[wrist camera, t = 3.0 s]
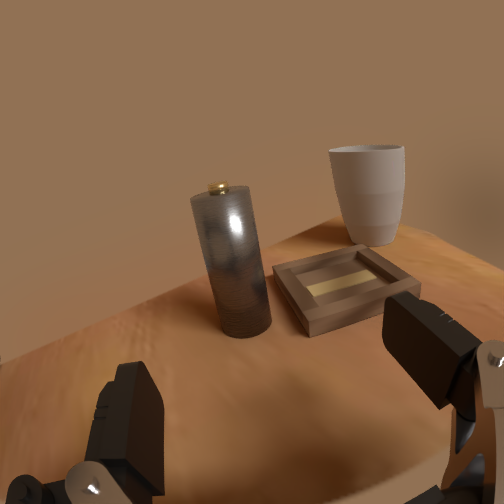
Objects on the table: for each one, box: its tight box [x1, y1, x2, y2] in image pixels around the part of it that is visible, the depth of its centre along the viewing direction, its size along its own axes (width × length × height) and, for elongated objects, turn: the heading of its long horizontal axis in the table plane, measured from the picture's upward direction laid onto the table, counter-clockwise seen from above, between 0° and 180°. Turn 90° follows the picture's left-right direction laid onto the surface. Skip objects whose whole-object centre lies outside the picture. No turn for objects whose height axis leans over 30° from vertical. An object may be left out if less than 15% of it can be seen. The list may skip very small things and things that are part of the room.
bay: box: [272, 244, 421, 337], centre depth 23 cm, size 9×9×1 cm
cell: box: [190, 181, 272, 338], centre depth 19 cm, size 4×4×10 cm
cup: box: [329, 145, 405, 247], centre depth 29 cm, size 8×8×10 cm
